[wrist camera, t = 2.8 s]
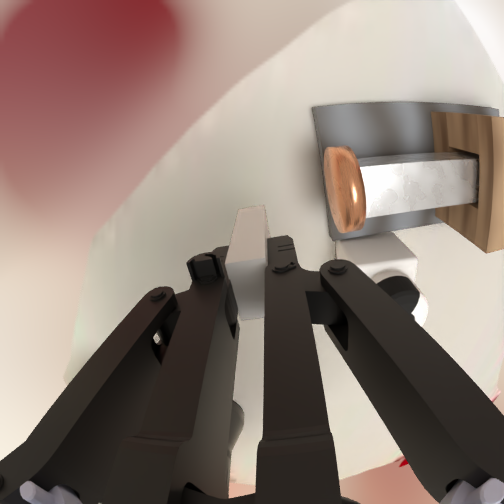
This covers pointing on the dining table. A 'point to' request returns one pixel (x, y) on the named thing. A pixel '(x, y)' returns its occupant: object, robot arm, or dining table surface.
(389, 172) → the shaft
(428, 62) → the dining table surface
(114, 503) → the robot arm
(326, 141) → the bearing block
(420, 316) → the medicine bottle
